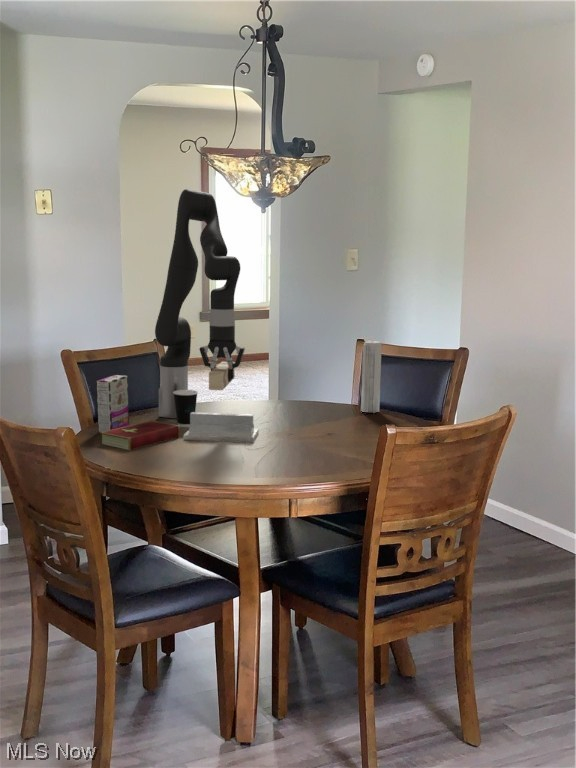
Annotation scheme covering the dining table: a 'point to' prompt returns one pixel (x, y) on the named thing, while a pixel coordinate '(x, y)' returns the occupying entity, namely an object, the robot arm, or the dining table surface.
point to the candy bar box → (112, 402)
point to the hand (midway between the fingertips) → (222, 380)
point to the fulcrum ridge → (221, 427)
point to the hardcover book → (140, 435)
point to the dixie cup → (184, 405)
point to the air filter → (371, 376)
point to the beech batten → (219, 377)
